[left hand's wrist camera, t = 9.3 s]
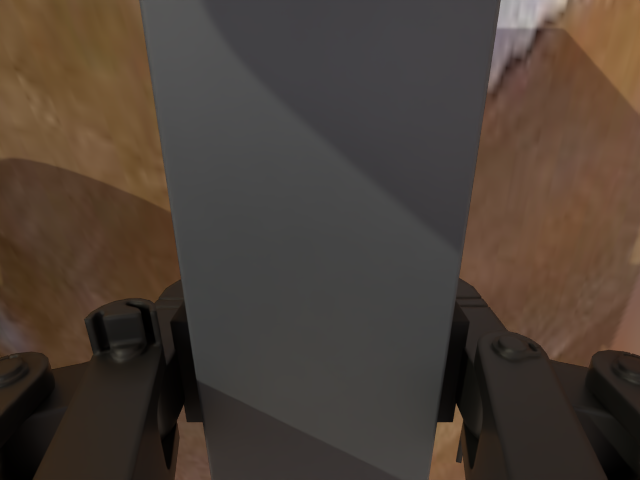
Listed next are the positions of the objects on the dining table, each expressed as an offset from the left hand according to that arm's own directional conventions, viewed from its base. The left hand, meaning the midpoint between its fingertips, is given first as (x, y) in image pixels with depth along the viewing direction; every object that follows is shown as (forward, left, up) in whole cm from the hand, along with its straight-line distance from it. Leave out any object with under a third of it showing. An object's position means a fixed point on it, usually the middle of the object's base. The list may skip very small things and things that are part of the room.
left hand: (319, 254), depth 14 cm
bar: (+7, +2, -1) cm, 7 cm away
